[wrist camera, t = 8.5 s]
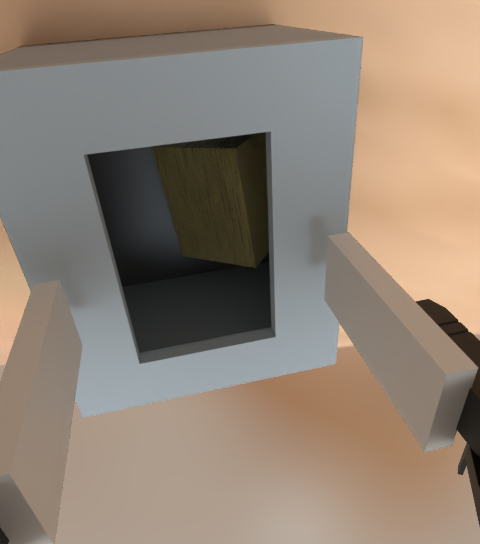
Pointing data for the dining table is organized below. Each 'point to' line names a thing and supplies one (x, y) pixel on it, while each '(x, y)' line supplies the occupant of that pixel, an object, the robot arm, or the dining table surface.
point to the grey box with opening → (154, 208)
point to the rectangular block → (218, 197)
